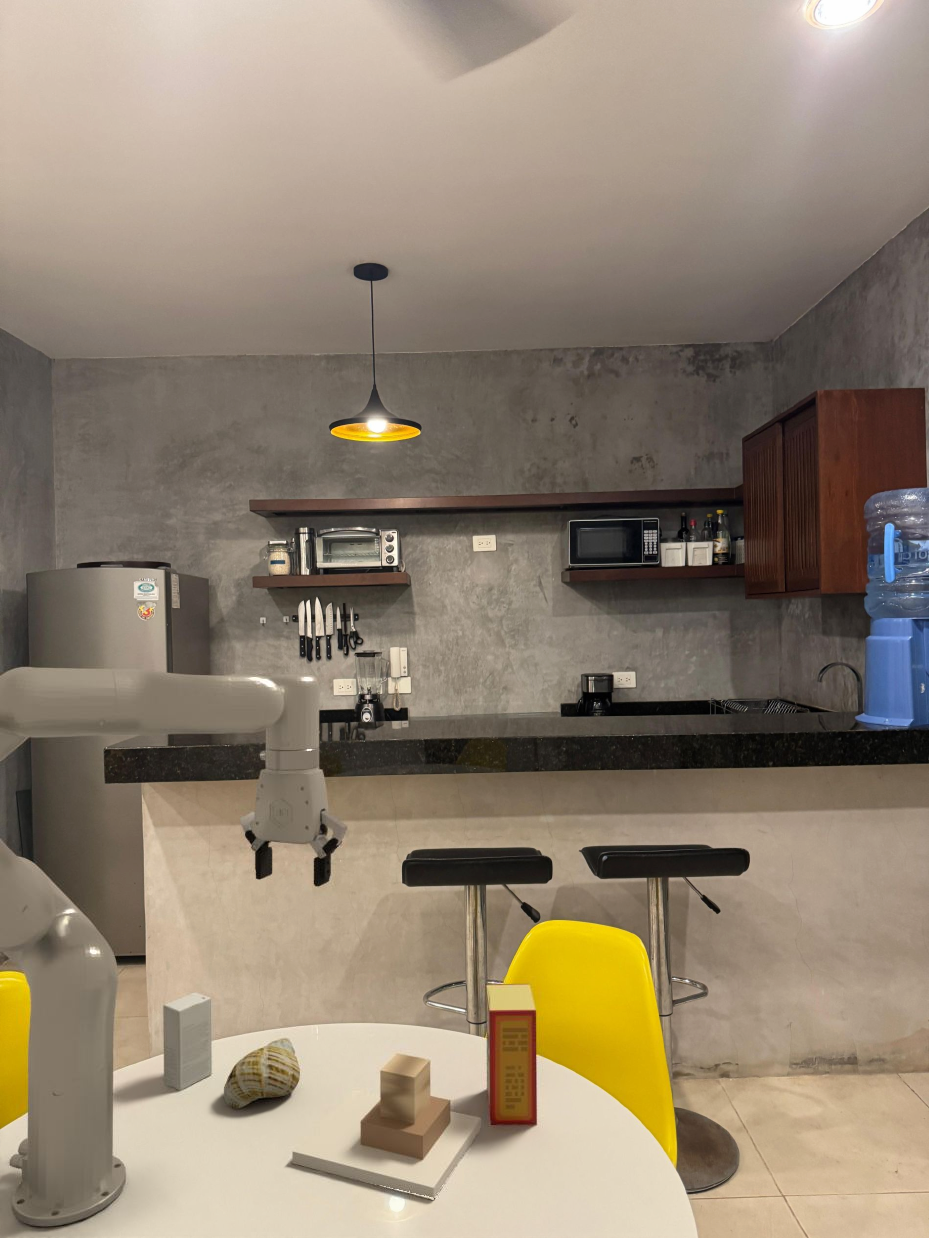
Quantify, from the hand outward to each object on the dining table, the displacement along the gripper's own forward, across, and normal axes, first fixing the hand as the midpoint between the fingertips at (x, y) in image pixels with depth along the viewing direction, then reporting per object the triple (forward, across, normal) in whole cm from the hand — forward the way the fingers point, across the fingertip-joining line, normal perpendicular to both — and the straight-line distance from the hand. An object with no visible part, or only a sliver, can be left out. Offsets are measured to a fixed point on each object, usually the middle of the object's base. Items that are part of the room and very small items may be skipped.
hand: (292, 880), depth 120 cm
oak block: (+29, +18, 0) cm, 34 cm away
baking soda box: (+34, +28, +14) cm, 46 cm away
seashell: (+34, -7, +4) cm, 35 cm away
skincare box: (+34, -21, +3) cm, 40 cm away
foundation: (+33, +16, -1) cm, 37 cm away
